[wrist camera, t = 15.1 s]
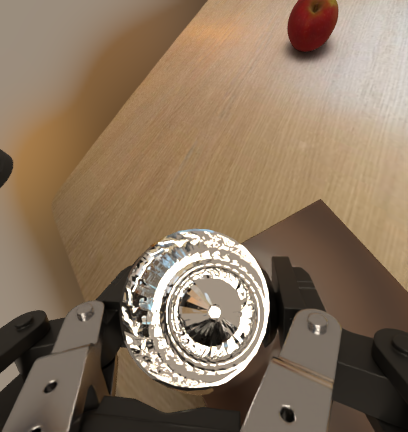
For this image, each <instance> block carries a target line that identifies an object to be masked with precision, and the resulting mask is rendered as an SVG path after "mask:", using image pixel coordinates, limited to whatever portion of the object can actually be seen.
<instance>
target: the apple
mask: <svg viewBox="0 0 408 432" xmlns="http://www.w3.org/2000/svg"><path fill="white" fill-rule="evenodd" d="M337 19H338V4H337V1H336V0H298V2H297V3H296V4H295V6H294V8H293V10H292V12H291V14H290V17H289V20H288V36H289V39H290V42H291V44H292V46H293V47H294V48H295V49H296V50H299V51H303V52H309V51H312V50H315V49H317V48H319V47H320V46H322V45H323V44H324V43H325V42H326V41H327V39H328V38H329V36H330V35H331V33H332V32H333V30H334V28H335V25H336V23H337Z"/></svg>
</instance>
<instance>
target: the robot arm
mask: <svg viewBox="0 0 408 432" xmlns="http://www.w3.org/2000/svg"><path fill="white" fill-rule="evenodd" d="M138 259H139V258H138ZM138 259H137V260H138ZM137 260H136V261H135V263H136V262H137ZM135 263H134V264H133V265H132V266H129V267H127V268H126V269H124V270H122V271H121V272H120V273H119V274H118V276H117V277H116V279H114V280H113V281H112V282H111V284H110V285H109V286H108V287H107V288H106V289H105V290H104V291H103V292H102V293H101V295H100V296H99V297H98V298H97V299H96V300H94V301H88V302H84V303H82V304H80V305H78V306H76V307H75V308H73V309H72V310H71V311H70V312H69V313H68V314H67V316H66V318H61V319H56V320H50V321H48V318H47V315H46V313H45V312H44V311H40V310H37V311H31V312H28V313H25V314H23V315H21V316H19V317H17V318H15V319H13V320H12V321H11V322H9V323H8V324H6V325H5V326H3V327H2V328H0V373H1V372H2V371H3V370H5V369H6V368H7V367H8V366H9V365H10V364H12V363H13V362H15V364H16V366H17V368H18V371H19V372H20V374H19V375H18V376H17V377H16V378H15V379H14V380H13V381H12V382H11V383H9V384H8V385H7V386H6V387H5V388H4V389H3V390H2V391H1V392H0V432H329V426H330V419H331V412H332V405H333V400H334V401H336V402H338V403H341V404H343V405H346V406H348V407H351V408H353V409H355V410H358V411H360V412H363V413H365V415H366V417H367V419H368V420H369V422H370V424H371V426H372V427H373V429H374V431H375V432H408V332H405V331H402V330H398V329H392V328H384V329H380V330H378V331H377V332H376V333H375V334H374V338H371V337H367V336H364V335H360V334H356V333H353V332H350V331H348V330H345V329H344V328H342V327H341V325H340V323H339V322H338V320H337V319H336V318H335V317H333V316H332V315H331V314H329V313H327V312H326V310H325V307H324V305H323V303H322V301H321V299H320V296H319V294H318V292H317V290H316V289H315V286H314V283H313V281H312V279H311V277H310V275H309V273H308V272H306V271H305V270H304V269H303V268H302V267H292V265H291V262H290V259H289V257H288V256H272V284H273V287H274V290H275V293H276V297H277V302H278V310H279V322H278V334H279V340H280V346H281V352H280V354H279V357H278V358H277V357H275V356H274V357H272V359H271V360H270V363H269V365H268V367H267V369H266V372H265V374H264V376H263V379H262V381H261V383H260V386H259V388H258V390H257V393H256V395H255V397H254V400H253V402H252V404H251V407H250V409H249V411H248V414H247V416H246V418H245V421H244V423H243V425H241V414H240V411H233V410H225V409H216V408H208V407H201V408H196V409H190V410H184V411H178V412H172V413H164V412H161V411H159V410H157V409H155V408H153V407H151V406H149V405H147V404H145V403H142V402H140V401H138V400H136V399H132V398H123V397H115V394H116V382H117V371H118V355H117V352H118V350H119V348H120V347H124V348H127V347H126V344H125V342H124V339H123V335H122V331H121V326H120V301H121V295H122V291H123V287H124V285H125V282H126V280H127V278H128V275H129V273H130V270H131V269H132V268H133V266H134V265H135Z"/></svg>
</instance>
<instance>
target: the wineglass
mask: <svg viewBox="0 0 408 432" xmlns="http://www.w3.org/2000/svg"><path fill="white" fill-rule="evenodd" d="M278 322H279V310H278V302H277V297H276V293H275V290H274V287H273V284H272V282H271V280H270V278H269V276H268V274H267V272H266V271H265V269H264V267H263V266H262V264H261V263H260V262H259V261H258V260H257V258H256V257H255V256H254V255H253V254H252V253H251V252H250V251H249V250H247V249H246V248H245V247H243V246H242V245H241V244H239V243H238V242H237V241H235V240H234V239H232V238H230V237H228V236H226V235H224V234H222V233H219V232H215V231H212V230H207V229H190V230H183V231H178V232H176V233H173V234H171V235H168V236H165V237H163V238H162V239H160V240H159V241H157V242H156V243H154V244H153V245H151V246H150V247H149V248H148V249H147V250H146V251H145V252H144V253H143V254H142V255H141V256H140V257H139V259H138V260H137V262H136V263H135V265H134V266H133V268H132V269H131V270H130V273H129V275H128V278H127V280H126V282H125V285H124V287H123V291H122V295H121V301H120V326H121V331H122V335H123V339H124V342H125V344H126V347H127V349H128V351H129V353H130V355H131V357H132V358H133V359H134V361H135V362H136V364H137V365H138V366H139V368H140V369H141V370H143V371H144V372H145V373H146V374H147V375H148V376H149V377H150V378H152V379H153V380H155V381H157V382H159V383H160V384H162V385H164V386H166V387H167V388H170V389H174V390H177V391H180V392H183V393H188V394H195V395H209V394H217V393H223V392H226V391H228V390H231V389H233V388H235V387H238V386H240V385H241V384H243V383H245V382H246V381H247V380H248V379H250V378H251V377H252V376H253V375H254V374H255V373H257V372H258V371H259V369H260V368H261V366H262V365H263V364H264V362H265V361H266V359H267V358H268V357H269V355H270V352H271V350H272V347H273V345H274V342H275V339H276V336H277V329H278Z"/></svg>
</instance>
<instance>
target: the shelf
mask: <svg viewBox="0 0 408 432" xmlns="http://www.w3.org/2000/svg"><path fill="white" fill-rule="evenodd" d="M241 245H242V246H243V247H245V248H246V249H247V250H249V251H250V252H251V253H252V254H253V255H254V256H255V257H256V258H257V260H258V261H259V262H260V263H261V264H262V266H263V267H264V269H265V271H266V272H267V274H268V276H269V278H270V280H271V282H272V256H288V257H289V259H290V262H291V265H292V267H302V268H303V269H304V270H305V271H306V272H308V273H309V275H310V277H311V279H312V281H313V283H314V286H315V289H316V290H317V292H318V294H319V296H320V299H321V301H322V303H323V305H324V307H325V310H326V312H327V313H329V314H331V315H332V316H333V317H335V318H336V319H337V320H338V322H339V323H340V325H341V327H342V328H344V329H345V330H348V331H350V332H353V333H356V334H360V335H364V336H367V337H371V338H374V334H375V333H376V332H377V331H378V330H380V329H384V328H392V329H398V330H402V331H405V332H408V292H407V291H406V290H405V289H404V288H403V287H402V286H401V284H400V283H399V282H398V281H397V280H396V279H395V278H394V277H393V276H392V275H391V274H390V273H389V272H388V271H387V269H386V268H385V267H384V266H383V265H382V264H381V263H380V262H379V261H378V260H377V259H376V258H375V257H374V256H373V254H372V253H371V252H370V251H369V250H368V249H367V248H366V247H365V246H364V245H363V244H362V243H361V242H360V241H359V239H358V238H357V237H356V236H355V235H354V234H353V233H352V232H351V231H350V230H349V229H348V228H347V227H346V226H345V224H344V223H343V222H342V221H341V220H340V219H339V218H338V217H337V216H336V215H335V214H334V213H333V212H332V211H331V209H330V208H329V207H328V206H327V205H326V204H325V203H324V202H323V201H322V200H321V199H319V200H318V201H316V202H314V203H312V204H311V205H309V206H307V207H305V208H303V209H302V210H300V211H298V212H296V213H295V214H293V215H291V216H289V217H287V218H286V219H284V220H282V221H280V222H279V223H277V224H275V225H273V226H271V227H270V228H268V229H266V230H264V231H263V232H261V233H259V234H257V235H255V236H254V237H252V238H250V239H248V240H247V241H245V242H243V243H241ZM280 352H281V346H280V340H279V334H278V329H277V336H276V339H275V342H274V345H273V347H272V350H271V352H270V355H269V357H268V358H267V359H266V361H265V362H264V364H263V365H262V366H261V368H260V369H259V371H258V372H257V373H255V374H254V375H253V376H252V377H251V378H250V379H248V380H247V381H246V382H245V383H243V384H241V385H240V386H238V387H235V388H233V389H231V390H228V391H226V392H223V393H217V394H209V395H202V397H203V399H204V402H205V404H206V407H208V408H216V409H225V410H233V411H240V414H241V425H243V423H244V421H245V418H246V416H247V414H248V411H249V409H250V407H251V404H252V402H253V400H254V397H255V395H256V393H257V390H258V388H259V386H260V383H261V381H262V379H263V376H264V374H265V372H266V369H267V367H268V365H269V363H270V360H271V359H272V357H274V356H275V357H277V358H278V357H279V354H280ZM329 432H375V431H374V429H373V427H372V426H371V424H370V422H369V420H368V419H367V417H366V415H365V413H363V412H360V411H358V410H355V409H353V408H351V407H348V406H346V405H343V404H341V403H338V402H336V401H334V400H333V405H332V412H331V419H330V426H329Z"/></svg>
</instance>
